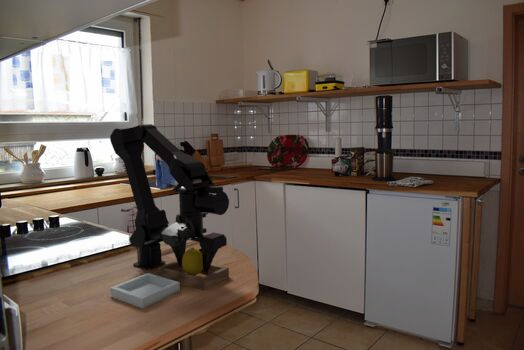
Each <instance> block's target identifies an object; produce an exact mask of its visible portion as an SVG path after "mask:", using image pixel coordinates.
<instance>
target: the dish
mask: <svg viewBox="0 0 524 350" xmlns="http://www.w3.org/2000/svg"><path fill="white" fill-rule="evenodd" d="M180 286H181V285H180V282H177V281H174V280H170V279H167V278H163V277H160V276H158V275H156V274H153V273H149V272H146V273H144V274H142V275H139V276H136V277H135V278H132V279H129V280H126V281H124V282H121V283H118V284H116V285H113V286H110V289H109V290H110V297H111V298H114V299H116V300H119V301H121V302H124V303H128V304H130V305H132V306H136V307H138V308H141V309H145V308H147V307H149V306H151V305H153V304H155V303H157V302H160V301H162V300H164V299H166V298H168V297H171V296H172V295H174V294H177V293H180V292H181V287H180Z"/></svg>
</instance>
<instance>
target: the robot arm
mask: <svg viewBox="0 0 524 350" xmlns="http://www.w3.org/2000/svg"><path fill="white" fill-rule="evenodd" d="M109 141H110V144H111V146H112V149H113V151H114V153H115V155H117V156H118V158H120V159H121V160H122V161H123V164H124V168H125V172H126V175H127V178H128V181H129V186H130V189H131V193H132V196H133V200H134V203H135V206H136V210H137V212H136V215H135V220H134V225H135V230H134V231H133V233H132V234H131V236H130V237H129V243H130V247H131V246H132V247H134V248H136V254H137V256H136V257H137V261H136V262H134V263H133V265H132V266H134V267H136V268H139V269H140V268H141V269H144V270H151V269H154V268H156V267H157V268H158V267H160V266H163V265H164V264H165V265H166V261H165V260H162V248H161V243H162V242H163V243H164V244H165V245H168V246H169V247H171V250H172V251H173V254H174V257H175V259H176V261H177V262H178V264H179V266H182V259H183V255H184V253H185V252H186V251H187V250H186V248H187V241H192V242H197V243H199V247H200V248H197V249H198V250H199V251H200V252H201V253H202V260H203V271H204V272H203V274H208V273H207V272H208V270H209V268H210V265H211V264H213V260H214V258H215V256H216V255H217V253H218V250H219V249H221V248H223V247H226V246H228V244H227V236H226V235H225V234H224V233H218V232H211V233H209V234H206V233H207V231H208V230H207V228H205V227H204V219H203V218H206V217H207V214H210V215H217V216H222V215H225V214H226V212H227V211H228V209H229V205H230V199H229V197H228V194H227V193H226V192H225V191H224V187H223V186H221V185H220V186H219V185H218V186H215V184H214V182H213V180H212V178H211V176H210V175H209V173H208V172H207V169H206V166H205V164H204V162H202V161H201V160H200V159H198V158H196V157H195V156H193V155H190V154H187V153H184V152H183V151H181V150H180V149H179V147H177V146H176V145H174V143H172V142H171V140H169V139H168V138H167V137H166V136H165V135H164V134H162V133H161V132H160V130H158V127H157V126H156V125H154V124H153V123H152V124H151V123H149V124H148V123H147V124H146V123H145V124H138V125H137V126H132V127H120V128H119V127H116V128H114V129H113V130H112V132H111V134H110V136H109ZM145 145H146V146H147V147H148V148H149V149H150V150H152V152H154V153H155V155H157V156H158V157H159V158H160V160H162V161H163V162H164V163H165V164H166V165H167V166H168V172H169V174H170V176H172V178H173V179H174V181H175V182H176V183H177V184H176V186H175V187H174V188H172V192H174V193H178V196H179V197H178V202H179V203H178V204H179V213H178V214H176V216H175V222H174V223H172V224H170V221H169V220H168V217H167V212H166V210H164V209H160V208H158V207H157V205H156V203H155V199H154V197H153V196H154V195H153V191H152V189H151V186H150V182H149V178H148V175H147V171H146V168H145V164H144V162H143V161H144V160H143V158H142V157H143V153H144V149H145ZM169 224H170V225H169Z"/></svg>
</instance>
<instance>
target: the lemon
mask: <svg viewBox="0 0 524 350" xmlns="http://www.w3.org/2000/svg"><path fill="white" fill-rule="evenodd" d="M198 249H199V248H195V247H194V246H192V247H190V248H188V249H187V250H185V253H184V255H183V259H182V266H183V269H182V270H183V271H184V273H186V274H189V275H193V276H196V277H197V275H199V274H200V273H202V272H201V271H202V269H203V260H202V253H201V252H200V251H199V250H198Z"/></svg>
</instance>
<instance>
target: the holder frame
mask: <svg viewBox="0 0 524 350" xmlns="http://www.w3.org/2000/svg"><path fill="white" fill-rule="evenodd" d="M229 269H230V268H229V267H227V266H223V265H219V264H216V263H211V265H210V268H209V270H208V272H207V273H206V275H204V276H203V277H199V276H197V275H196V276H193V275H189V274H187V273H186V272H181V271H183V270H184V269H183V266H179V264H178V262H177V260H175V261H172V262H169V263H167V264H165V265H164V264H163V265H160V266H158V267H157V274H158V275H157V276H160V277H163V278H167V279H170V280H174V281H177V282H180V284H181V285H183V286H188V287H191V288H194V289H198V290H201V291H204V290H205V289H208V288H210V287H212V286H214V285H216V284H218V283H220V282H222V281H224V280H226V279H228V278H229V277H230V271H229ZM200 273H204V271H203V269H202V271H201V272H200Z"/></svg>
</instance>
